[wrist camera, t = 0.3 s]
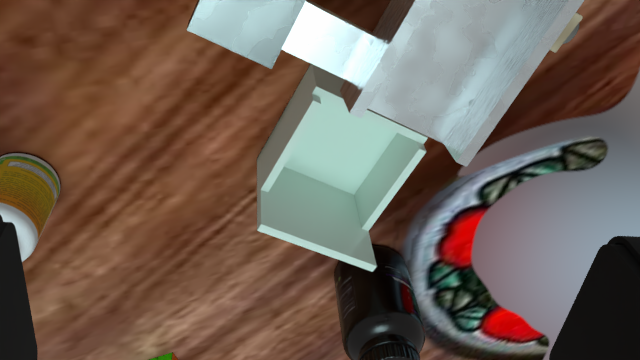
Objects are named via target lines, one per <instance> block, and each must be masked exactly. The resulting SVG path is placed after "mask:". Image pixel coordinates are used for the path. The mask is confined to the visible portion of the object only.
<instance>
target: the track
mask: <svg viewBox="0 0 640 360" xmlns="http://www.w3.org/2000/svg"><path fill="white" fill-rule="evenodd" d="M583 1H584V0H391V1H390V3H389V4H388V6H387V8H386V10H385V11H384V13H383V15H382V17H381V18H380V20H379V22H378V24H377V25H376V27H375V29H374V31H373V32H370V31H368V30H366V29H364V28H362V27H361V26H359V25H357V24H355V23H353V22H351V21H349V20H347V19H345V18H343V17H341V16H339V15H337V14H335V13H333V12H331V11H329V10H328V9H326V8H324V7H322V6H320V5H318V4H316V3H314V2H312V1H310V0H198V2H197V4H196V6H195V8H194V11H193V13H192V15H191V18H190V20H189V22H188V27H187V30H188V31H190V32H192V33H195V34H197V35H199V36H201V37H203V38H205V39H208V40H210V41H212V42H214V43H216V44H218V45H221V46H223V47H225V48H227V49H229V50H231V51H234V52H236V53H238V54H240V55H242V56H244V57H247V58H249V59H251V60H253V61H255V62H257V63H260V64H262V65H264V66H266V67H268V68H270V69H272V67H273V65H274V63H275V61H276V59H277V57H278V55H279V53H280V51H281V49H282V50H284V51H286V52H288V53H290V54H292V55H294V56H296V57H299V58H301V59H303V60H305V61H307V62H309V63H311V64H313V65H315V66H317V67H320V68H322V69H324V70H326V71H328V72H330V73H332V74H334V75H336V76H338V77H340V78H343V79H345V82H344V83H343V85H342V87H341V89H340V92H341V95H342V97H343V99H344V102H345V104H346V107H347V109H348V111H349V113H350V114H352V115H354V116H357V117H359V118H362V117H363V115H364V113H365V112H366V110H367V108H368V109H370V110H372V111H375V112H377V113H379V114H381V115H383V116H385V117H388V118H390V119H392V120H394V121H396V122H398V123H400V124H403V125H405V126H407V127H409V128H411V129H413V130H416V131H418V132H420V133H422V134H424V135H426V136H428V137H431V138H433V139H435V140H437V141H439V142H441V143H443V144H444V145H445V146H446V148H447V149H448V150H449V152H450V153H451V155H452V156H453V158H454V159H455V161H456V162H457V163H460V164H462V165H464V166H468V164H469V163H470V162H471V160H472V159H473V157H474V156H475V154H476V153H477V152H478V150H479V149H480V147H481V146H482V145H483V143H484V142H485V140H486V139H487V137H488V136H489V135H490V133H491V132H492V130H493V129H494V128H495V126H496V125H497V123H498V122H499V120H500V119H501V118H502V116H503V115H504V113H505V112H506V111H507V109H508V108H509V106H510V105H511V103H512V102H513V101H514V99H515V98H516V96H517V95H518V93H519V92H520V91H521V89H522V88H523V86H524V85H525V84H526V82H527V81H528V79H529V78H530V76H531V75H532V74H533V72H534V71H535V69H536V68H537V67H538V65H539V64H540V62H541V61H542V59H543V58H544V57H545V55H546V54H547V52H548V51H549V50H550V48H551V47H552V45H553V44H554V42H555V41H556V40H557V38H558V37H559V35H560V34H561V33H562V31H563V30H564V28H565V27H566V25H567V24H568V23H569V21H570V20H571V18H572V17H573V16H574V14H575V13H576V11H577V10H578V8H579V7H580V6H581V4H582V3H583Z"/></svg>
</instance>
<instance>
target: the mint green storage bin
mask: <svg viewBox="0 0 640 360" xmlns="http://www.w3.org/2000/svg"><path fill="white" fill-rule="evenodd" d="M344 82H345V79H343V78H340V77H338V76H336V75H334V74H332V73H330V72H328V71H326V70H324V69H322V68H320V67H317V66H315V65H313V64H311V65H310V66H309V68H308V70H307V72H306V73H305V75H304V77H303V79H302V80H301V82H300V84H299V86H298V87H297V89H296V91H295V93H294V94H293V96H292V98H291V100H290V102H289V103H288V105H287V107H286V109H285V110H284V112H283V114H282V116H281V117H280V119H279V121H278V123H277V124H276V126H275V128H274V130H273V131H272V133H271V135H270V137H269V139H268V140H267V142H266V144H265V146H264V147H263V149H262V151H261V153H260V154H259V156H258V158H257V231H260V232H263V233H266V234H268V235H271V236H274V237H277V238H280V239H282V240H285V241H288V242H291V243H293V244H296V245H299V246H302V247H305V248H307V249H310V250H313V251H316V252H318V253H321V254H324V255H327V256H330V257H332V258H335V259H338V260H341V261H344V262H346V263H349V264H352V265H355V266H357V267H360V268H363V269H366V270H369V271H371V272H373V271H374V269H375V268H376V267H377V265H376V261H375V257H374V252H373V248H372V244H371V240H370V236H369V232H368V231H369V230H370V228H371V227H372V225H373V224H374V223H375V221H376V220H377V219H378V217H379V216H380V214H381V213H382V212H383V210H384V209H385V208H386V206H387V205H388V204H389V202H390V201H391V199H392V198H393V197H394V195H395V194H396V193H397V191H398V190H399V189H400V187H401V186H402V184H403V183H404V182H405V180H406V179H407V178H408V176H409V175H410V173H411V172H412V171H413V169H414V168H415V167H416V165H417V164H418V163H419V161H420V160H421V158H422V157H423V156H424V154H425V153H426V150H425V147H424V145H423V144H424V143H425V141H426V140H427V139H428V137H427V136H426V135H424V134H422V133H420V132H418V131H416V130H413V129H411V128H409V127H407V126H405V125H403V124H400V123H398V122H396V121H394V120H392V119H390V118H388V117H385V116H383V115H381V114H379V113H377V112H375V111H372V110H370V109H368V108H367V110H366V112H365V113H364V115H363V117H362V118H359V117H357V116H354V115H352V114H350V113H349V111H348V109H347V107H346V104H345V102H344V99H343V97H342V95H341V92H340V89H341V87H342V85H343V83H344Z"/></svg>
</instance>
